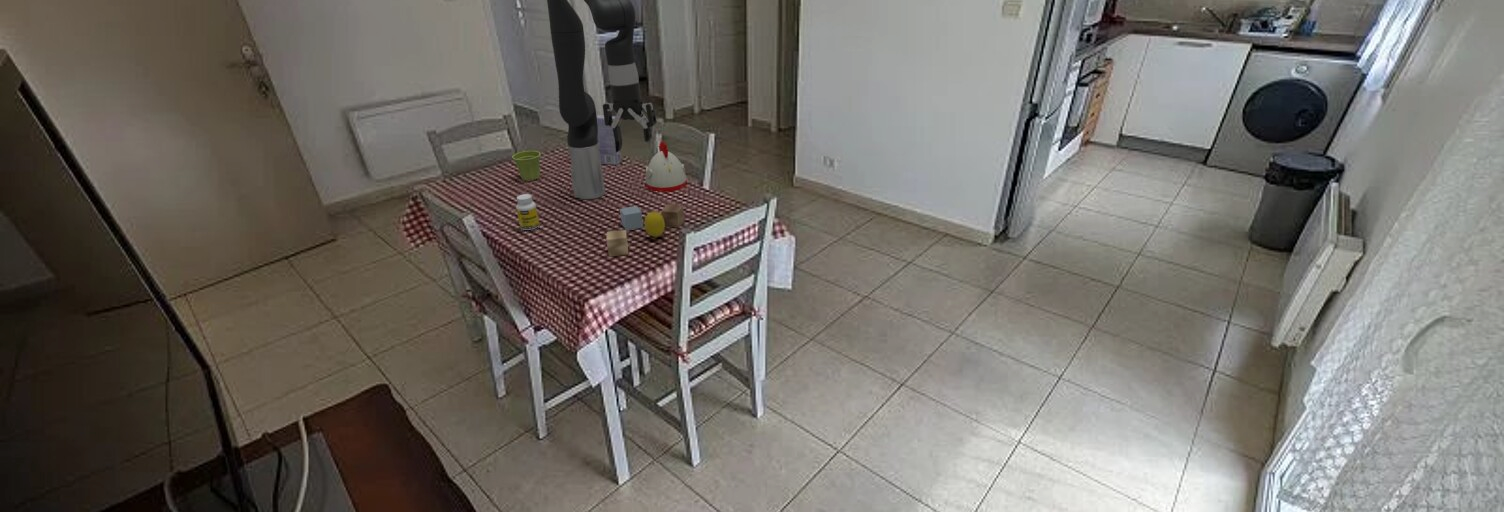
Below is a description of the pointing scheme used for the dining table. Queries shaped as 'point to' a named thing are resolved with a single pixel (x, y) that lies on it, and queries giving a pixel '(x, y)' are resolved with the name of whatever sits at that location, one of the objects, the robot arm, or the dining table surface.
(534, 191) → the dining table surface
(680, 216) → the block walnut
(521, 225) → the supplement bottle
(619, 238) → the block oak
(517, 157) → the plant pot
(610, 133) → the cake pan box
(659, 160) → the kitchen timer
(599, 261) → the dining table surface
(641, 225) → the block slate
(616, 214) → the dining table surface
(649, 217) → the lemon
